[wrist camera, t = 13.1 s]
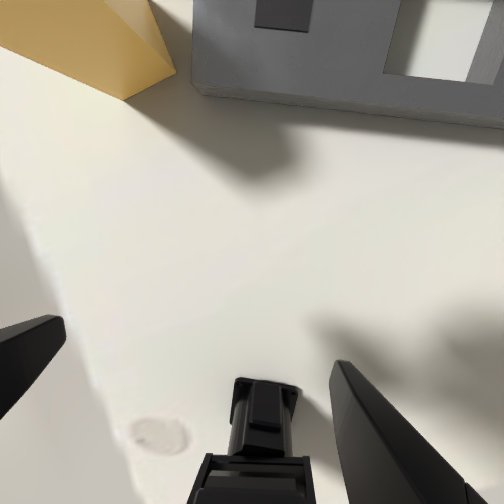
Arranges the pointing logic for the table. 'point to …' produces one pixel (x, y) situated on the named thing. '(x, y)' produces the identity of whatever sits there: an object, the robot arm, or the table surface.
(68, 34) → the amber peg
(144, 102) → the table surface
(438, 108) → the charcoal peg board
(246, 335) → the table surface
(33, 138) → the table surface
